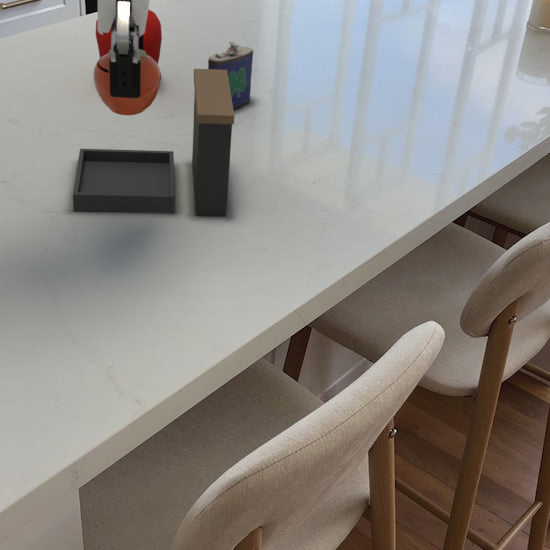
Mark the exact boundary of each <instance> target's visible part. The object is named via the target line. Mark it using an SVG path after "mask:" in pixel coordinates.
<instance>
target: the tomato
mask: <svg viewBox="0 0 550 550" xmlns="http://www.w3.org/2000/svg"><path fill="white" fill-rule="evenodd" d="M129 43H131V41H129ZM110 59H111V49H110V51H109V53H108V54H106V55H104V56H103V57H101V58H100V57H99V59H98V61H97V62H96V64H95V65H94V68H93V74H92V75H93V81H94V85H95V89H96V92H97V94H98V97H99V98H100V99H101V101H102V102H103V104H104V105H105V106H106V107H107V108H108V109H109V110H110V111H111V112H113V113H114V114H117V115H121V116H134V115H138V114H139V115H140V114H142V113H143V112H145V111H146V110H147V109H148V108H149V107H150V106H152V104H153V102H154V101H155V100H156V97H157V95H158V92H159V90H160V88H161V83H162V72H161V69H160V66H159V63H158V64H157V63H156V62H155V61H154V60H153V59H152V58H151V57H150V56H148V55H146V52H145V51H143V50H141V49H138V61H141V94H140V97H139V98H123V97H112V96H111V95H110V71H109V60H110Z"/></svg>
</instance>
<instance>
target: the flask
mask: <svg viewBox="0 0 550 550" xmlns="http://www.w3.org/2000/svg"><path fill="white" fill-rule="evenodd" d="M228 43H229V45H230V46H229V47H228V48H227V49H226V51H225V52H221V53H218V52H215V54H213V55H210V56H209V57H208V60H207V65H208V66H207V67H208V68H207V69H216V70H227V73H228V79H229V85H230V91H231V98H232V104H233V110H234V111H236V110H239V109H241V108H243V107H245V106H248V104H249V103H250V101H251V90H252V89H251V87H252V74H253V73H252V72H253V57H254V49H253V48H252V47H248V46H241V44H240V45H239V44H237V43H235V42H234V41H228Z"/></svg>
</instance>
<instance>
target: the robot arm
mask: <svg viewBox="0 0 550 550" xmlns="http://www.w3.org/2000/svg"><path fill="white" fill-rule="evenodd" d="M149 7H150V0H97V20H98V32H99V33H100V34H101V35H104V33H109V31H110V29H111V59H110V60H109V71H110V95H111V96H112V97H123V98H139V97H140V94H141V61H138V49H141V50H143V51H144V33H145V28H146V21H147V15H148V10H149ZM111 26H112V28H111ZM116 26H117V31H116ZM129 41H131V43H129Z"/></svg>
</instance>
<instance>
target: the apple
mask: <svg viewBox="0 0 550 550" xmlns="http://www.w3.org/2000/svg"><path fill="white" fill-rule="evenodd" d="M111 28H112V26H111ZM116 31H117V26H116ZM95 39H96V43H97V49H98V55H99V59H100V58H101V57H103V56H104V55H106V54H108V53H109V51H110V49H111V29H110V31H109V33H104V35H101V34H100V33H99V32H98V19H96V21H95ZM162 41H163V35H162V24H161V21H160V19H159V17H158V15H157V14H156V12H154V11H153V10H151V9H148V15H147V21H146V28H145V33H144V51H145V52H146V55H148V56H150V57H151V58H152V59H153V60H154V61H155V62H156V63H157V64H158V65H159V62H160V61H159V60H160V57H161V56H160V55H161V50H162V49H161V47H162Z"/></svg>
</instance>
